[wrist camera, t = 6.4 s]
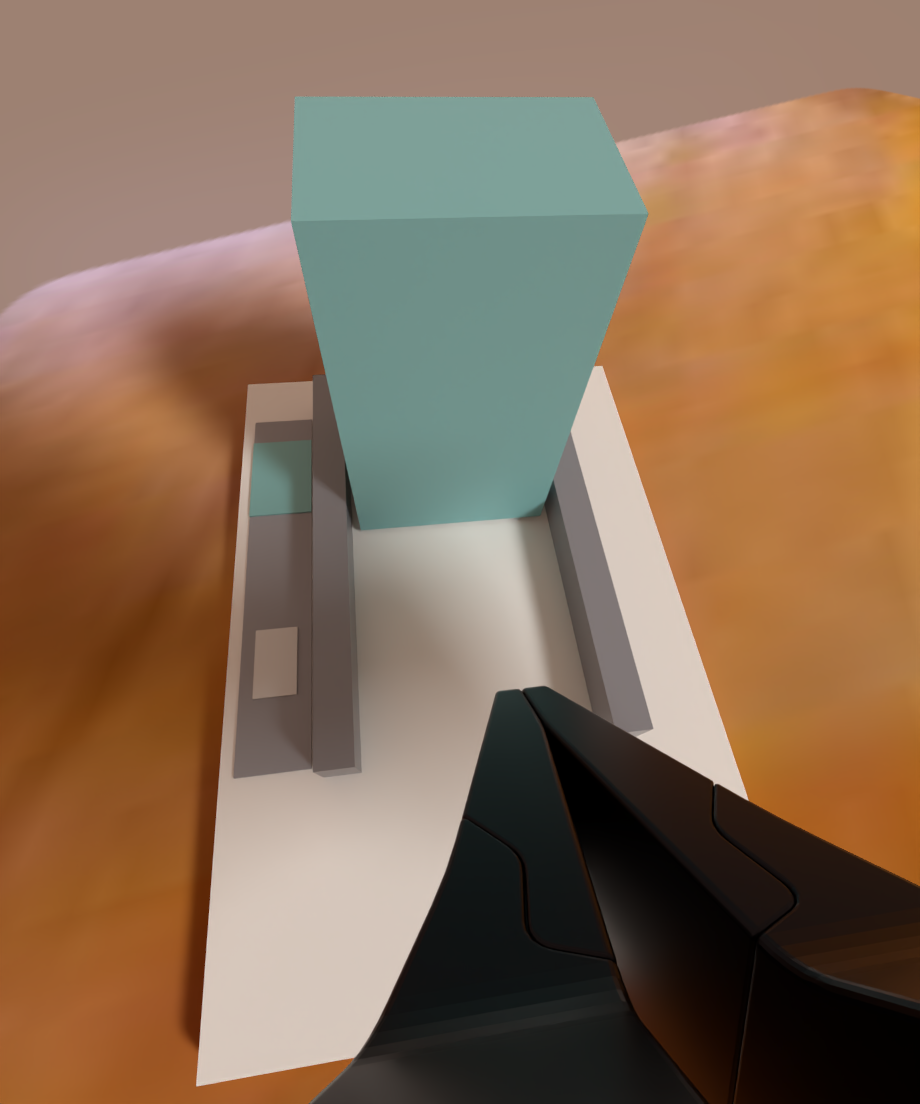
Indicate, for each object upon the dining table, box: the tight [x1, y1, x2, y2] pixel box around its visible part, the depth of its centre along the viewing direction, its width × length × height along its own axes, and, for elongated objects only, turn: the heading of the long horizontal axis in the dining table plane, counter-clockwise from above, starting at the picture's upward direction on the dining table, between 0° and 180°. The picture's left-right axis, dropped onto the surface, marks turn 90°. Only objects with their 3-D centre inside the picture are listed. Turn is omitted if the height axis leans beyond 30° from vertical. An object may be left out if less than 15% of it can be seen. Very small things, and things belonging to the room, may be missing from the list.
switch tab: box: [291, 97, 648, 530], centre depth 14 cm, size 4×6×10 cm, turn 97°
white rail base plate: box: [196, 366, 749, 1086], centre depth 16 cm, size 20×14×2 cm
